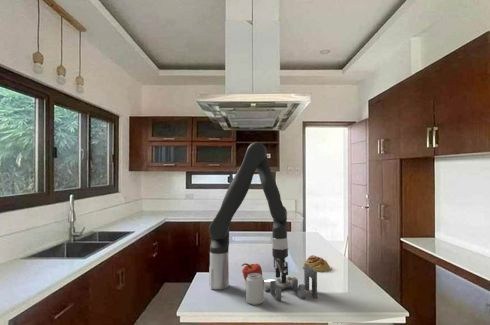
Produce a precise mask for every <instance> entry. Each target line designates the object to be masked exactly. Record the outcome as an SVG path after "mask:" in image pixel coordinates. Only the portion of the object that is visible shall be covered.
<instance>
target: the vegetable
mask: <svg viewBox="0 0 490 325" xmlns="http://www.w3.org/2000/svg"><path fill="white" fill-rule="evenodd" d="M241 267H243V268H242V272H241V273H242V276H243V279H244V281H245V282H246V278H247V277H248V274H250V273H259V274H261V275H262V276H263V270H262V267H261V265H260V264H259V263H250V264H249V263H246V262H244V263H243V264H241Z"/></svg>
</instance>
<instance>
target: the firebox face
mask: <svg viewBox="0 0 490 325" xmlns="http://www.w3.org/2000/svg"><path fill="white" fill-rule="evenodd" d="M303 265H304V269H303V271H304V273H303V274H304V275H303V276H304V279H303V280H304V283H303V284H304V285H305V292H307V293H308V294H309V295H310V294H311V295H312V296H313V297H312V296H311V295H310V296H311V297H312V298H314V299H315V300H317V299H318V272H317V271H315V270H314V269H312V268H311V267H309V266H308V265H307V264H304V263H303ZM310 278H311V290H310ZM316 298H317V299H316Z"/></svg>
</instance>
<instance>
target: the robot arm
mask: <svg viewBox="0 0 490 325" xmlns="http://www.w3.org/2000/svg"><path fill="white" fill-rule="evenodd" d="M256 170H257V172H258V176H259V180H260V185H261V187H262V191H263V193H264V196H265V199H266V201H267V204H268V208H269V209H268V210H269V212H270V213H269V214H270V215H271V218H272V221H273V222H272V224H273V225H272V229H271V230H272V233H271V234H272V239H271V245H272V248H271V249H272V251H271V252H272V254H271V255H272V257H273V268H274V271H275V279H280V278H281V283H282V284H284V283H286V278H287V276H288V275H289V265H288V262H287V261H286V258H288V257H289V242H288V230H287V222H288V210H287V208H286V207H285V206H284V205H283V202H282V198H281V192H280V190H279V188H278V185H277V182H276V180H275V177H274V175H273V173H272V169H271V167H270V164H269V160H268V154H267V148H266V146H265V145H264V144H263V143H262V142H258V141H254V142H252V143H250V144H249V145H248V147H247V149H246V152H245V155H244V158H243V161H242V162H241V165H240V167H239V169H238V170H237V172H236V174H235V175H234V177H233V179H232V181H231V182H230V184H229V185H228V188H227V190H226V193H225V195H224V197H223V200H222V202H221V206H220V208H219V210H218V211H217V213H216V215H215V217H214V218H213V220H212V221H211V223H210V224H209V226H208V233H209V236H210V245H209V267H208V268H209V269H208V270H209V272H208V274H209V278H208V279H209V280H208V281H209V284H208V285H209V287H210V289H211V290H218V291H219V290H226V289H228V288H229V287H230V276H229V275H230V270H229V269H230V267H229V266H230V263H229V254H230V253H229V250H230V248H229V246H230V225H231V222H232V219H233V217H234V216H235V214H236V213H237V211H238V209H239V208H240V207H241V205H242V203H243V202H244V200H245V198H246V196H247V194H248V192H249V190H250V187H251V184H252V182H253V177H254V175H255V172H256Z"/></svg>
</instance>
